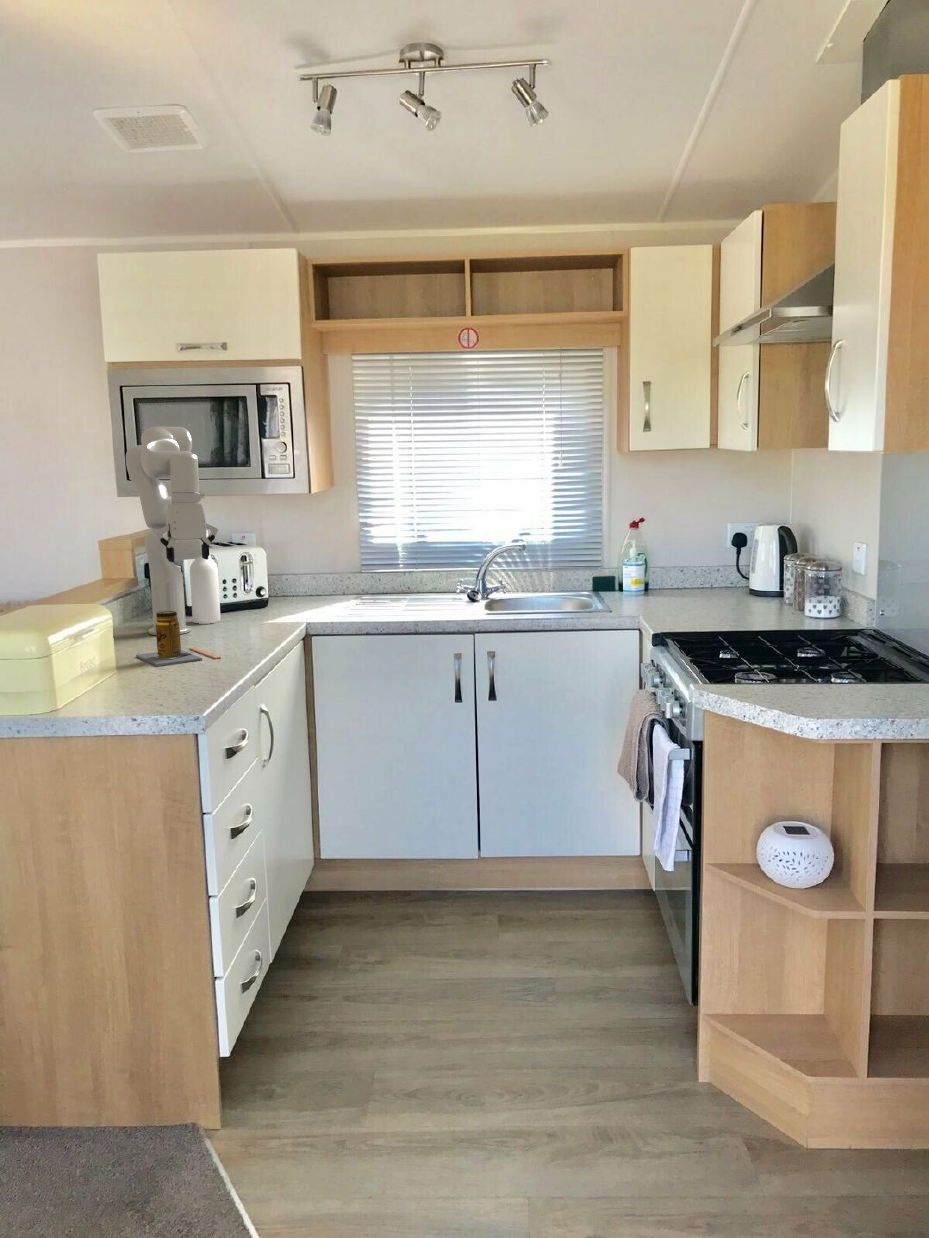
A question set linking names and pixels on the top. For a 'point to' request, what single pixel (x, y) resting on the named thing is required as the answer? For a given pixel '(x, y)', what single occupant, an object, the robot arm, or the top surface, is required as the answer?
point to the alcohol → (205, 591)
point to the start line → (205, 653)
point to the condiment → (168, 635)
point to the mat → (162, 662)
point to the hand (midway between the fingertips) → (188, 560)
